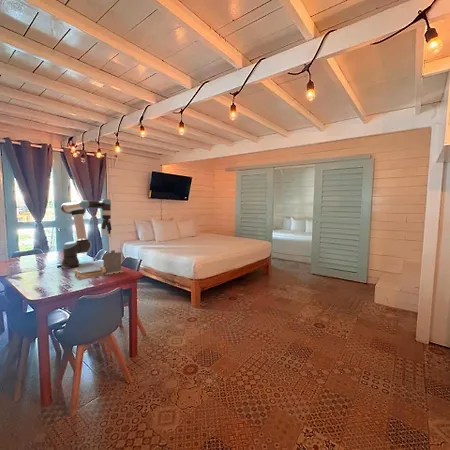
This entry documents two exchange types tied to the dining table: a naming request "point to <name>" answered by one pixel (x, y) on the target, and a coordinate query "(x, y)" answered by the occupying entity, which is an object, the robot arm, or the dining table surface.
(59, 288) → the dining table surface
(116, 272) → the mat
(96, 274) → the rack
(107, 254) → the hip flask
